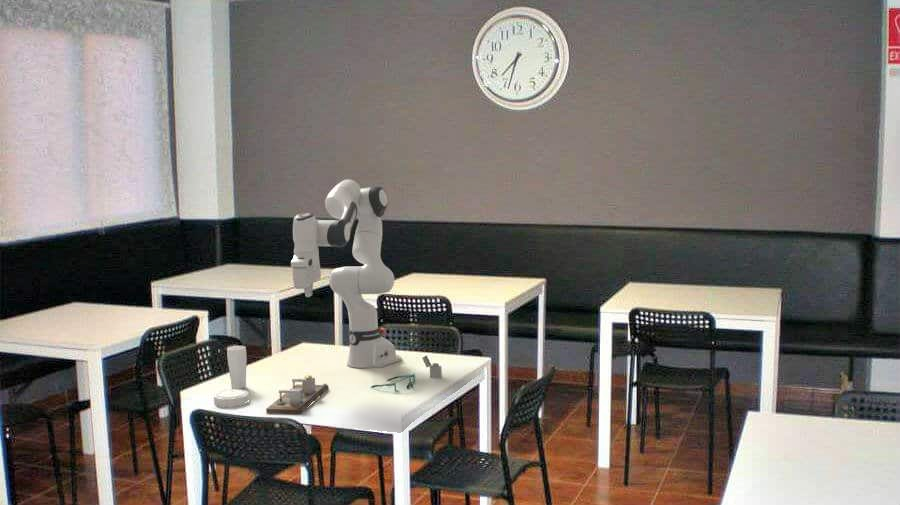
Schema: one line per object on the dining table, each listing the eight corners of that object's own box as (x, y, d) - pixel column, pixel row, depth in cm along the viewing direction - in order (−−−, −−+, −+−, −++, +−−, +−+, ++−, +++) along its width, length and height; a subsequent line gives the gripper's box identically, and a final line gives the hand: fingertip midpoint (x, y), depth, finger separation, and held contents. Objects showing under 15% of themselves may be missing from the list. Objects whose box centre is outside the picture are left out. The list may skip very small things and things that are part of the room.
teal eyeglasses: (401, 394, 349) (399, 380, 349) (367, 393, 357) (365, 379, 357) (423, 384, 361) (421, 370, 361) (389, 383, 369) (388, 370, 368)
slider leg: (294, 390, 350) (293, 374, 349) (315, 391, 348) (314, 375, 348) (291, 393, 347) (290, 377, 346) (312, 393, 345) (311, 377, 345)
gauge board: (296, 388, 360) (296, 384, 359) (328, 389, 357) (328, 384, 357) (266, 413, 331) (266, 408, 330) (300, 414, 328) (300, 409, 328)
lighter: (441, 377, 369) (441, 356, 368) (440, 378, 368) (439, 357, 367) (424, 375, 372) (423, 354, 371) (422, 377, 370) (421, 356, 369)
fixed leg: (302, 385, 358) (301, 371, 357) (326, 385, 356) (326, 372, 356) (274, 408, 331) (273, 393, 330) (300, 408, 329) (299, 394, 328)
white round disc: (208, 402, 346) (207, 392, 345) (240, 396, 353) (239, 386, 353) (223, 410, 336) (222, 399, 336) (255, 403, 344) (255, 393, 343)
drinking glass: (251, 385, 365) (249, 346, 363) (242, 390, 359) (239, 350, 357) (235, 384, 367) (233, 345, 365) (225, 389, 361) (223, 349, 359)
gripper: (307, 253, 368) (309, 290, 370) (288, 263, 348) (291, 302, 350) (323, 253, 367) (325, 290, 369) (306, 263, 347) (308, 302, 349)
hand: (308, 296), depth 359 cm, fingers closed
